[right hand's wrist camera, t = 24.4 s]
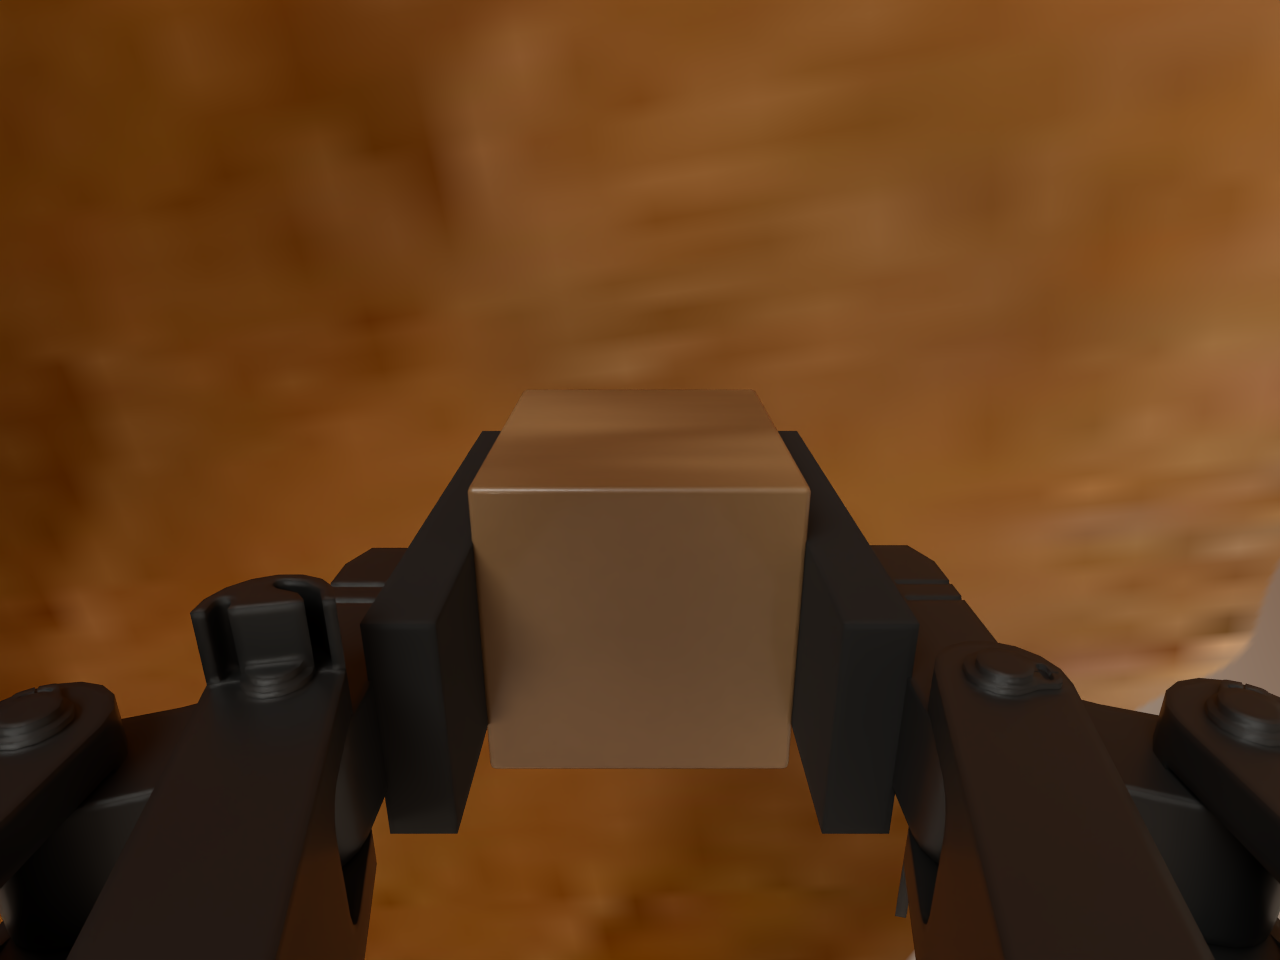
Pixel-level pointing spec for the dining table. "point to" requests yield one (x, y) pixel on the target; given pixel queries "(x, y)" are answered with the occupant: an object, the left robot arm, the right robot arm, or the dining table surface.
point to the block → (639, 581)
